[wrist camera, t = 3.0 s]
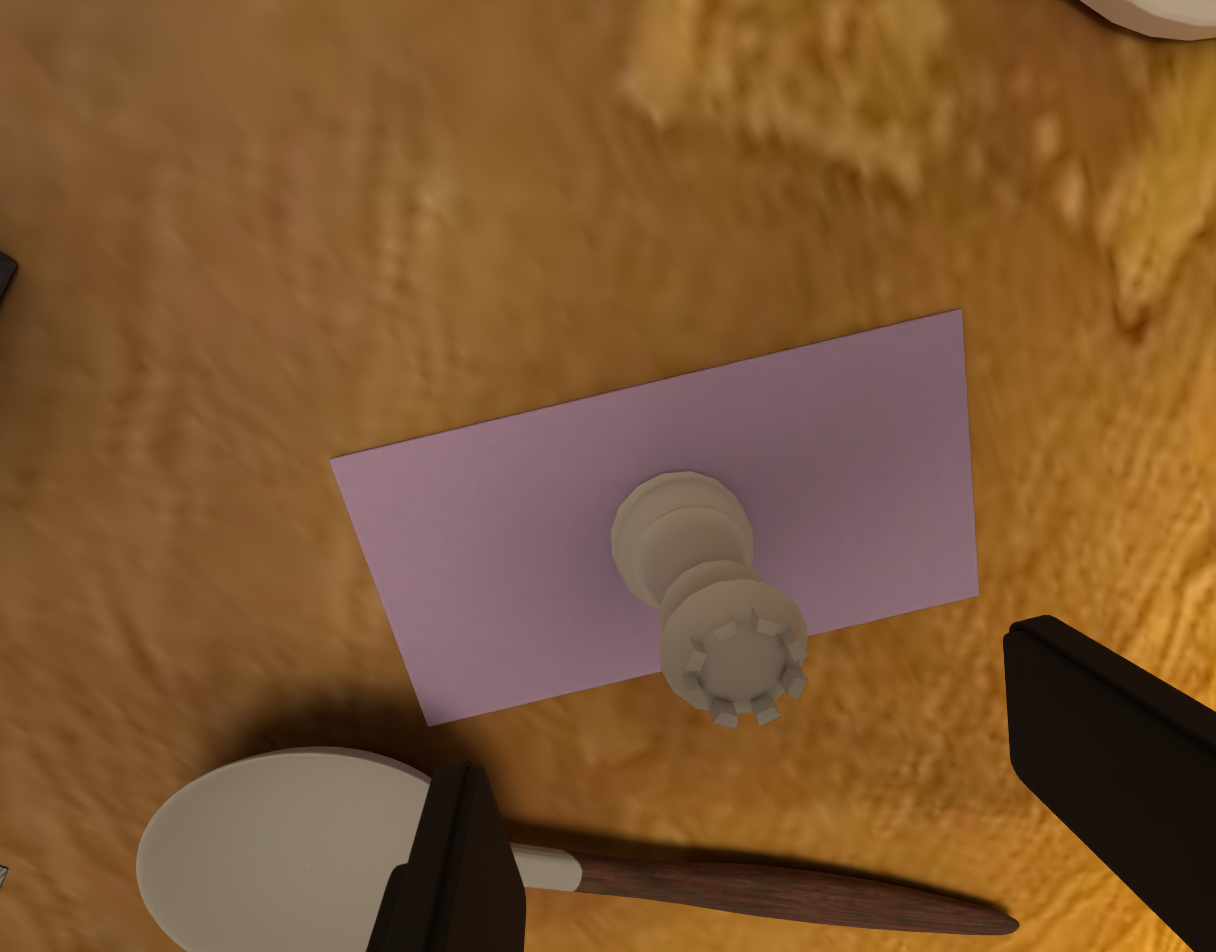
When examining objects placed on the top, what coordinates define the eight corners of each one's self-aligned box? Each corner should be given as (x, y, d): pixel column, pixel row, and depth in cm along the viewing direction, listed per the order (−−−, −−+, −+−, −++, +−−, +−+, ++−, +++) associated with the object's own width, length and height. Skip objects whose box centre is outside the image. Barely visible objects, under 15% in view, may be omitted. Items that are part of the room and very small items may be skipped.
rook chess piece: (755, 573, 20) (871, 735, 12) (628, 609, 20) (666, 791, 12) (727, 450, 19) (837, 544, 11) (592, 488, 19) (610, 608, 11)
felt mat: (958, 308, 18) (962, 308, 18) (976, 593, 21) (979, 595, 21) (330, 458, 18) (328, 459, 18) (429, 723, 21) (427, 727, 21)
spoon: (199, 657, 19) (138, 727, 16) (1052, 796, 25) (1115, 866, 22) (185, 887, 23) (133, 978, 20) (934, 963, 28) (976, 1042, 25)
